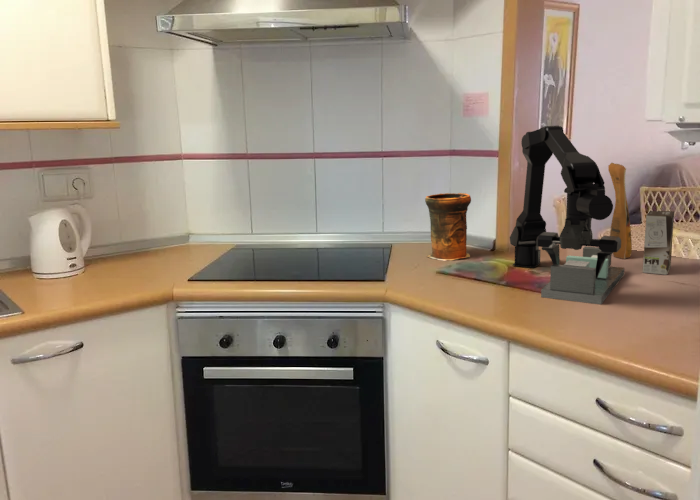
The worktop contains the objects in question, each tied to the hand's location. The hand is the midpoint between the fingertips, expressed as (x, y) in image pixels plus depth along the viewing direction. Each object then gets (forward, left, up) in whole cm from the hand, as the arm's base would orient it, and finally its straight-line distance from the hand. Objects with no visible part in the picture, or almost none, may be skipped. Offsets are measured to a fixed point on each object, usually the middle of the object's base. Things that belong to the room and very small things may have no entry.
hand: (576, 275), depth 150 cm
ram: (0, +17, -3) cm, 17 cm away
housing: (0, 0, -3) cm, 3 cm away
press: (0, +9, -5) cm, 10 cm away
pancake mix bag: (+1, +49, -5) cm, 49 cm away
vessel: (-46, +26, -5) cm, 53 cm away
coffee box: (+14, +32, -5) cm, 35 cm away
